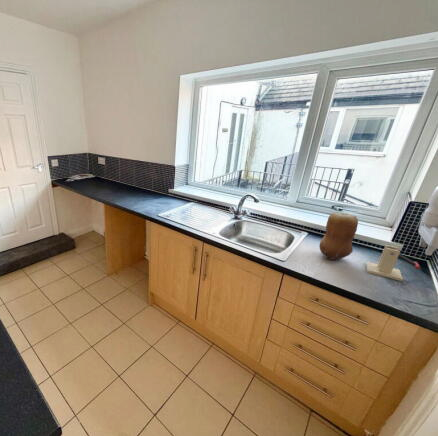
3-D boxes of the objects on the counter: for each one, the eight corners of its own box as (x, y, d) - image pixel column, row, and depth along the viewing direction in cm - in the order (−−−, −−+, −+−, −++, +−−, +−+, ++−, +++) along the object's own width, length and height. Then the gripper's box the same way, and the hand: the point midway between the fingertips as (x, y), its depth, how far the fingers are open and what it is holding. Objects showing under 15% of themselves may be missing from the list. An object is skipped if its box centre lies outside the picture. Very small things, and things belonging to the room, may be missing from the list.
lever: (414, 265, 110) (419, 262, 109) (417, 270, 106) (422, 266, 105) (385, 249, 115) (389, 245, 113) (386, 253, 111) (391, 249, 110)
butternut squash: (323, 248, 136) (337, 207, 126) (352, 259, 125) (369, 215, 116) (311, 256, 129) (324, 212, 119) (340, 268, 119) (357, 221, 109)
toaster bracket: (398, 271, 116) (408, 247, 111) (402, 281, 108) (413, 256, 104) (365, 263, 122) (374, 240, 118) (367, 272, 115) (376, 248, 110)
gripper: (458, 229, 91) (443, 262, 95) (441, 215, 106) (429, 244, 111) (433, 226, 94) (420, 257, 99) (420, 212, 110) (409, 240, 114)
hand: (424, 250), depth 105 cm, fingers open, 8 cm apart
